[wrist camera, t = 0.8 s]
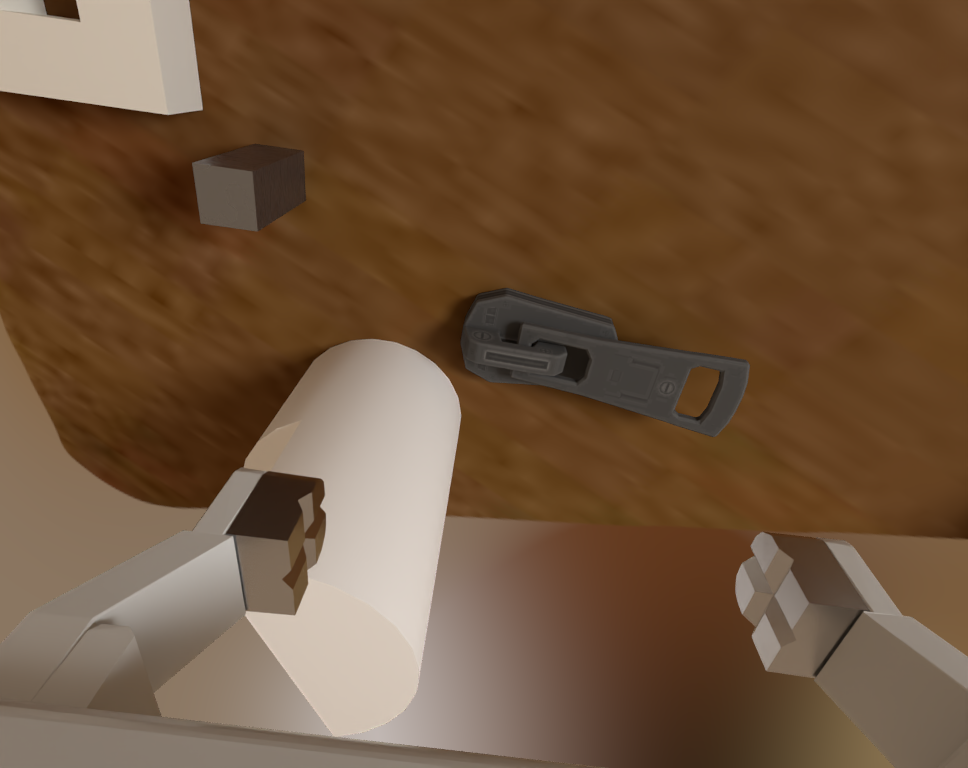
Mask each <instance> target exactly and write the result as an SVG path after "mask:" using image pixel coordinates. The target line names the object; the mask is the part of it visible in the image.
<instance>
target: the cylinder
mask: <svg viewBox="0 0 968 768" xmlns="http://www.w3.org/2000/svg"><path fill="white" fill-rule="evenodd" d="M460 421H461V411H460V405H459V400H458V396H457V394H456V392H455V390H454V388H453V386H452V384H451V382H450V380H449V379H448V377H447V376H446V375H445V374H444V373H443V372H442V371H441V370H440V368H439V367H438V366H437V365H436V364H435V363H434V362H432V361H431V360H429V359H428V358H426V357H425V356H423V355H422V354H421V353H419V352H418V351H416V350H413V349H411V348H408V347H406V346H403V345H401V344H398V343H396V342H390V341H384V340H377V339H364V340H353V341H348V342H345V343H343V344H340V345H337V346H334V347H332V348H330V349H328V350H327V351H325V352H324V353H323V354H321V355H320V356H319V357H317V358H316V359H315V360H314V361H313V363H312V364H311V365H310V367H309V368H308V370H307V371H306V373H305V374H304V375H303V377H302V378H301V380H300V381H299V383H298V384H297V386H296V387H295V388H294V390H293V391H292V393H291V394H290V396H289V397H288V399H287V400H286V402H285V403H284V404H283V406H282V407H281V409H280V410H279V412H278V413H277V415H276V416H275V417H274V419H273V420H272V422H271V423H270V425H269V426H268V428H267V429H266V431H265V432H264V433H263V435H262V436H261V438H260V439H259V441H258V442H257V444H256V445H255V446H254V448H253V449H252V451H251V452H250V454H249V455H248V457H247V458H246V460H245V464H244V468H248V469H254V470H261V471H267V472H268V471H272V472H279V473H286V474H293V475H300V476H307V477H314V478H321V479H322V480H323V481H324V489H325V496H324V499H323V501H322V503H321V505H320V507H321V508H322V509H323V510H324V512H325V513H326V531H325V538H324V542H323V546H322V550H321V553H320V556H319V558H318V561H317V564H315V565H314V566H313V567H311V568H310V569H308V570H307V572H308V586H307V588H306V591H305V593H304V595H303V598H302V600H301V603H300V605H299V608H298V610H297V612H296V615H284V614H273V613H261V612H250V611H246V615H245V616H246V618H247V619H248V620H249V621H250V623H251V624H252V626H253V627H254V628H255V630H256V631H257V633H258V634H259V635H260V636H261V638H262V639H263V641H264V642H265V643H266V645H267V646H268V648H269V649H270V650H271V652H272V653H273V654H274V656H275V657H276V658H277V660H278V661H279V662H280V664H281V665H282V667H283V668H284V669H285V671H286V672H287V673H288V675H289V676H290V678H291V679H292V680H293V681H294V683H295V684H296V686H297V687H298V688H299V690H300V691H301V693H302V694H303V695H304V697H305V698H306V699H307V701H308V702H309V703H310V705H311V706H312V708H313V709H314V710H315V712H316V713H317V714H318V716H319V717H320V718H321V720H322V721H323V723H324V724H325V725H326V727H327V728H328V729H329V731H330V732H331V733H332V735H333V736H334V737H339V736H345V735H351V734H357V733H363V732H366V731H368V730H371V729H373V728H376V727H379V726H381V725H384V724H386V723H388V722H389V721H391V720H392V719H394V718H395V717H396V716H398V715H399V714H400V713H402V712H403V711H404V710H406V708H407V707H408V705H409V704H410V702H411V700H412V699H413V697H414V696H415V694H416V693H417V688H418V682H419V676H420V670H421V664H422V657H423V651H424V645H425V638H426V633H427V627H428V620H429V614H430V607H431V602H432V595H433V589H434V583H435V577H436V571H437V565H438V564H437V563H438V558H439V552H440V546H441V540H442V534H443V527H444V521H445V515H446V509H447V503H448V496H449V490H450V484H451V478H452V472H453V465H454V459H455V453H456V447H457V441H458V434H459V428H460Z"/></svg>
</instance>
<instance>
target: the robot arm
mask: <svg viewBox="0 0 968 768" xmlns="http://www.w3.org/2000/svg"><path fill="white" fill-rule="evenodd" d="M324 496H325V489H324V481H323V480H322V479H321V478H314V477H307V476H300V475H293V474H286V473H279V472H272V471H268V472H267V471H261V470H254V469H248V468H240V469H238V470H236V471H235V472H234V473H233V474H232V475H231V477H230V478H229V480H228V481H227V482H226V484H225V485H224V487H223V488H222V489H221V491H220V492H219V494H218V495H217V496H216V498H215V499H214V501H213V502H212V503H211V505H210V506H209V508H208V509H207V510H206V512H205V513H204V515H203V516H202V517H201V519H200V521H199V522H198V523H197V525H196V526H195V527H194V529H193V530H192V531H186V530H183V531H181V532H179V533H177V534H175V535H173V536H171V537H170V538H168V539H166V540H164V541H162V542H160V543H158V544H157V545H155V546H153V547H151V548H149V549H147V550H145V551H143V552H142V553H140V554H138V555H136V556H134V557H132V558H130V559H128V560H127V561H125V562H123V563H121V564H119V565H117V566H115V567H113V568H112V569H110V570H108V571H106V572H104V573H102V574H100V575H99V576H97V577H95V578H93V579H91V580H89V581H87V582H85V583H83V584H82V585H80V586H78V587H76V588H74V589H72V590H70V591H68V592H67V593H65V594H63V595H61V596H59V597H57V598H55V599H53V600H52V601H50V602H48V603H46V604H44V605H42V606H41V607H38V608H37V609H35V610H33V611H31V612H29V613H28V615H27V616H26V617H25V618H24V619H23V620H22V621H21V622H20V623H19V624H18V626H17V627H16V628H15V629H14V630H13V631H12V632H11V633H10V634H9V635H8V637H7V638H6V639H5V640H4V641H3V642H2V643H1V644H0V768H603V767H594V766H584V765H576V764H567V763H559V762H550V761H541V760H533V759H524V758H515V757H506V756H498V755H488V754H480V753H471V752H463V751H454V750H445V749H436V748H427V747H418V746H410V745H402V744H393V743H384V742H376V741H367V740H358V739H350V738H341V737H332V736H323V735H314V734H305V733H297V732H289V731H280V730H272V729H263V728H254V727H246V726H237V725H228V724H219V723H211V722H202V721H193V720H184V719H176V718H167V717H162V716H161V713H160V710H159V708H158V704H157V701H156V698H155V696H154V692H155V691H156V690H158V689H159V688H160V687H161V686H162V685H163V684H164V683H166V682H167V681H168V680H169V679H170V678H171V677H173V676H174V675H175V674H176V673H177V672H178V671H180V670H181V669H182V668H183V667H184V666H186V665H187V664H188V663H189V662H190V661H192V660H193V659H194V658H195V657H196V656H197V655H199V654H200V653H201V652H202V651H203V650H204V649H206V648H207V647H208V646H209V645H210V644H212V643H213V642H214V641H215V640H216V639H217V638H219V637H220V636H221V635H222V634H223V633H224V632H226V631H227V630H228V629H229V628H230V627H231V626H233V625H234V624H235V623H236V622H237V621H238V620H240V619H241V618H242V617H243V616H244V615H246V611H250V612H261V613H273V614H284V615H296V612H297V610H298V608H299V605H300V603H301V600H302V598H303V595H304V593H305V591H306V588H307V586H308V572H307V570H308V569H310V568H311V567H313V566H314V565H315V564H317V561H318V558H319V556H320V553H321V550H322V546H323V542H324V538H325V531H326V513H325V512H324V510H323V509H322V508H321V507H320V505H321V503H322V501H323V499H324ZM751 548H752V551H753V553H754V556H753V557H752V558H750V559H748V560H747V561H745V562H743V563H742V565H741V567H740V569H739V571H738V574H737V576H736V596H737V601H738V604H739V607H740V609H741V612H742V614H743V615H744V616H745V617H746V618H747V619H748V620H749V621H750V622H751V623H752V624H754V626H755V629H754V632H753V634H752V638H753V641H754V643H755V645H756V647H757V650H758V653H759V655H760V657H761V660H762V662H763V664H764V667H765V669H766V671H770V672H777V673H784V674H790V675H797V676H804V677H811V678H815V679H814V681H815V682H816V683H817V684H818V685H819V686H820V687H821V689H822V690H823V691H824V692H825V693H826V694H827V695H828V696H829V697H830V698H831V699H832V700H833V701H834V702H835V704H836V705H837V706H838V707H839V708H840V709H841V710H842V711H843V712H844V713H845V714H846V715H847V716H848V718H849V719H850V720H851V721H852V722H853V723H854V724H855V725H856V726H857V727H858V728H859V729H860V730H861V732H862V733H863V734H864V735H865V736H866V737H867V738H868V739H869V740H870V741H871V742H872V743H873V744H874V746H875V747H877V749H878V750H879V751H880V752H881V753H882V754H883V755H884V756H885V757H886V758H887V759H888V761H890V763H891V764H892V765H893V766H894V767H895V768H968V657H967V656H966V655H964V654H963V653H961V652H960V651H959V650H957V649H956V648H954V647H953V646H952V645H950V644H948V643H947V642H946V641H945V640H943V639H942V638H940V637H939V636H938V635H936V634H935V633H933V632H932V631H931V630H929V629H928V628H926V627H925V626H924V625H922V624H921V623H919V622H918V621H916V620H915V619H914V618H912V617H907V616H903V615H902V614H901V613H900V611H899V610H898V608H897V607H896V606H895V604H894V603H893V602H892V600H891V599H890V597H889V596H888V595H887V593H886V592H885V590H884V589H883V588H882V586H881V585H880V583H879V582H878V581H877V579H876V578H875V576H874V575H873V574H872V572H871V571H870V569H869V568H868V567H867V565H866V564H865V563H864V561H863V560H862V558H861V557H860V556H859V554H858V553H857V551H856V550H855V549H854V547H853V546H852V545H851V544H849V543H848V542H846V541H844V540H835V539H825V538H812V537H804V536H795V535H786V534H777V533H769V532H761V533H760V534H759V535H758V536H756V537H755V539H754V541H753V543H752V545H751Z"/></svg>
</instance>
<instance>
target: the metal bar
mask: <svg viewBox="0 0 968 768" xmlns="http://www.w3.org/2000/svg"><path fill="white" fill-rule="evenodd" d="M192 166H193V173H194V180H195V187H196V194H197V201H198V208H199V215H200V222H201V224H209V225H216V226H223V227H230V228H237V229H244V230H251V231H259V230H261V229H262V228H264V227H265V226H267V225H268V224H270V223H272V222H273V221H275V220H276V219H278V218H279V217H281V216H282V215H284V214H286V213H287V212H289V211H290V210H292V209H293V208H295V207H296V206H298V205H300V204H301V203H303V202H304V201H306V195H305V172H304V151H302V150H295V149H288V148H281V147H274V146H267V145H260V144H253V145H250V146H246V147H243V148H240V149H236V150H233V151H230V152H227V153H223V154H220V155H217V156H213V157H210V158H207V159H203V160H200V161H197V162H193V163H192Z"/></svg>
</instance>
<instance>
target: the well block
mask: <svg viewBox="0 0 968 768" xmlns="http://www.w3.org/2000/svg"><path fill="white" fill-rule="evenodd" d="M76 2H77V7H78V12H79V16H80V20H79V19H72V18H65V17H58V16H51V15H47V13H46V9H45V5H44V1H43V0H0V91H5V92H12V93H19V94H26V95H33V96H40V97H47V98H54V99H61V100H68V101H75V102H82V103H89V104H96V105H103V106H110V107H116V108H123V109H130V110H137V111H144V112H151V113H158V114H165V115H171V114H178V113H185V112H192V111H198V110H203V107H202V100H201V92H200V84H199V76H198V68H197V60H196V52H195V45H194V37H193V29H192V21H191V13H190V5H189V0H76Z"/></svg>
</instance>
